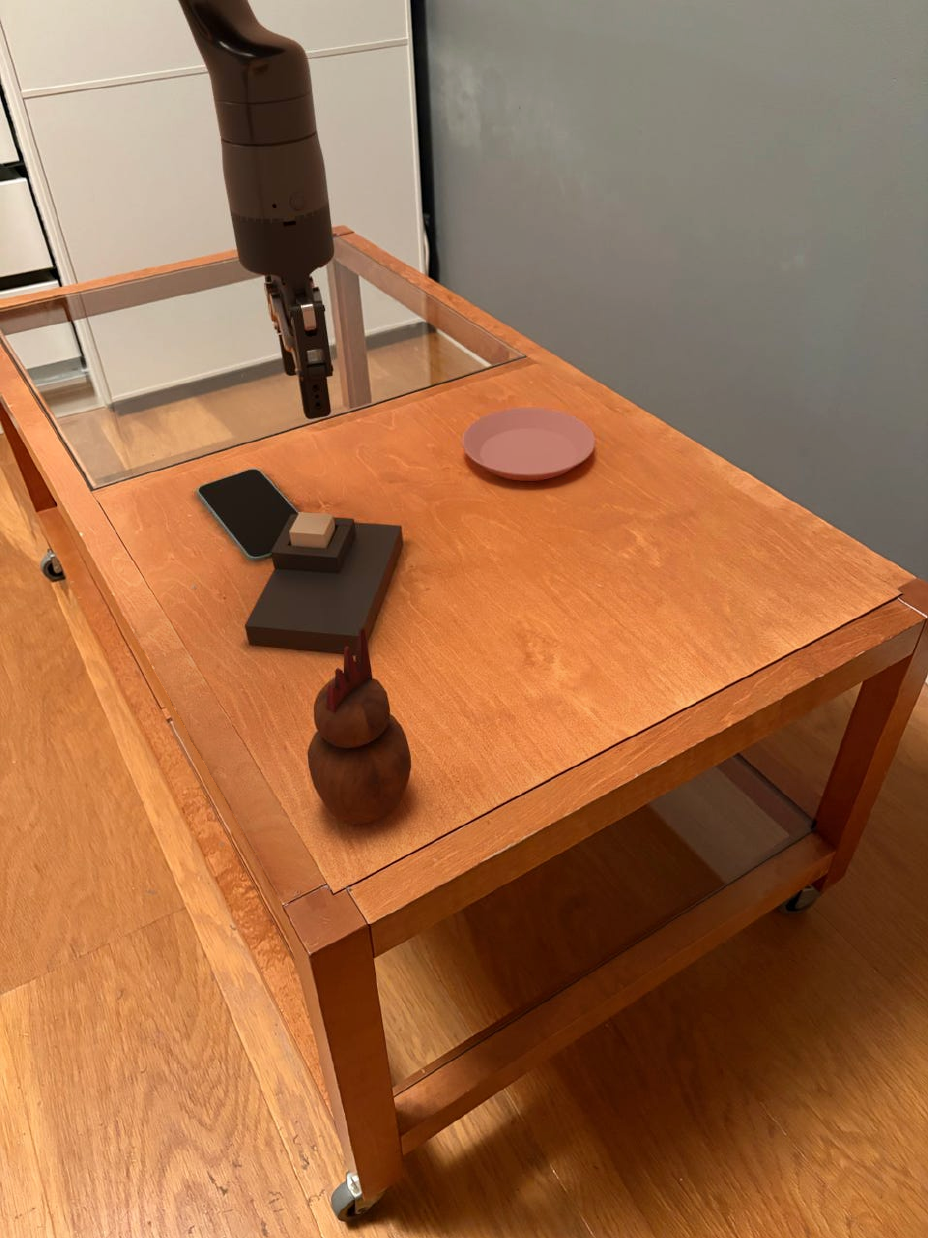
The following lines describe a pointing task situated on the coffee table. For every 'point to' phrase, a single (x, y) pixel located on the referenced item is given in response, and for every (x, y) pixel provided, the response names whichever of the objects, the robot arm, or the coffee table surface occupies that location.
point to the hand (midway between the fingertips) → (307, 393)
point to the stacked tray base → (325, 588)
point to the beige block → (312, 530)
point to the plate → (528, 443)
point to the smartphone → (248, 511)
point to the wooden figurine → (357, 744)
